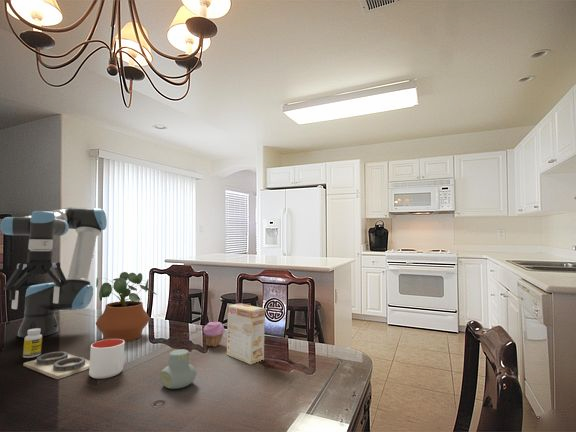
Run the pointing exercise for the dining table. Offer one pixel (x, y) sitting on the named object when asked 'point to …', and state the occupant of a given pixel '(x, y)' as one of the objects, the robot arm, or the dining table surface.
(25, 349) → the supplement bottle
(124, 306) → the potted plant
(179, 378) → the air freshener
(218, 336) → the cupcake
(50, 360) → the caddy
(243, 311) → the coffeecake box
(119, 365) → the cup
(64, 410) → the dining table surface
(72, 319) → the dining table surface
